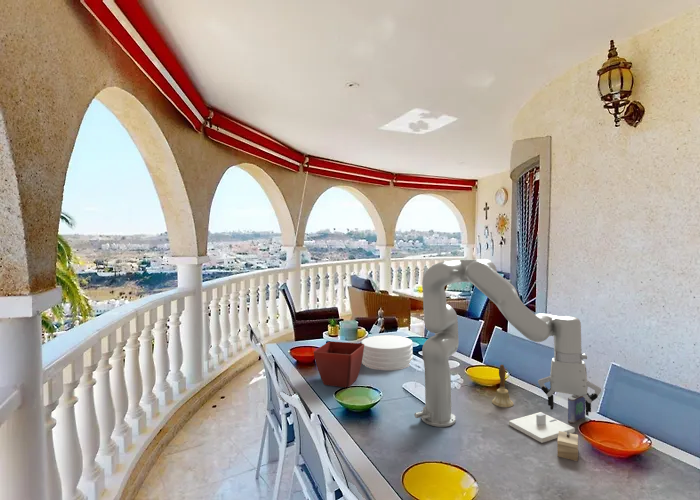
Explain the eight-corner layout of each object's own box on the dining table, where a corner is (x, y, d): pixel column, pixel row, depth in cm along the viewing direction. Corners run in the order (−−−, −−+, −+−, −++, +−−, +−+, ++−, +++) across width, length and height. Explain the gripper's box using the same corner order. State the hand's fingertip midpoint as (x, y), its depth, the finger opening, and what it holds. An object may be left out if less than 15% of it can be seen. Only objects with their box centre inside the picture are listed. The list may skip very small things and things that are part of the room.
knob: (577, 461, 120) (577, 443, 120) (557, 456, 123) (557, 438, 123) (578, 450, 126) (578, 432, 126) (558, 445, 129) (558, 429, 129)
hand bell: (515, 408, 157) (515, 368, 157) (493, 406, 159) (493, 367, 159) (511, 399, 166) (510, 361, 165) (490, 398, 167) (490, 361, 167)
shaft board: (541, 442, 131) (541, 428, 131) (509, 424, 144) (508, 411, 144) (574, 432, 137) (574, 417, 137) (540, 415, 150) (540, 402, 150)
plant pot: (313, 386, 185) (312, 351, 185) (330, 373, 203) (329, 340, 202) (351, 391, 178) (350, 354, 177) (365, 377, 196) (365, 343, 195)
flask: (573, 424, 143) (572, 395, 143) (565, 421, 146) (564, 392, 145) (587, 417, 148) (587, 389, 147) (579, 415, 150) (579, 387, 150)
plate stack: (379, 351, 239) (378, 333, 239) (421, 359, 222) (421, 339, 222) (352, 364, 216) (351, 343, 216) (397, 374, 200) (396, 351, 199)
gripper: (600, 356, 122) (601, 411, 122) (538, 350, 131) (539, 401, 131) (600, 363, 116) (602, 421, 116) (535, 356, 125) (537, 410, 125)
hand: (569, 410), depth 124 cm, fingers open, 9 cm apart
